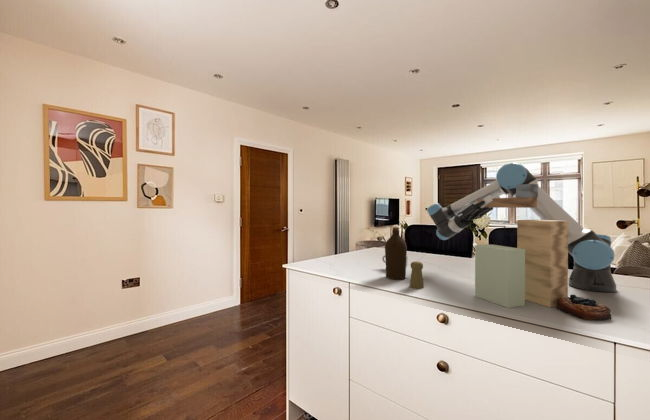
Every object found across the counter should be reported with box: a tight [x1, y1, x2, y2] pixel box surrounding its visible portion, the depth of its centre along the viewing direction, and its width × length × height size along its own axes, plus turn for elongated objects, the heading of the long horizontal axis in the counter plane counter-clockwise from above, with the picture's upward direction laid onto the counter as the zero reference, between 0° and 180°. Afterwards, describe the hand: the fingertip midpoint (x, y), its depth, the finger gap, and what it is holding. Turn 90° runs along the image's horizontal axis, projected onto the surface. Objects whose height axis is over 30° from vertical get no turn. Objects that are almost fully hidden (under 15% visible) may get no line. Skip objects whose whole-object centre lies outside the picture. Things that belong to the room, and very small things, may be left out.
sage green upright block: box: [474, 243, 526, 309], centre depth 105 cm, size 8×14×20 cm, turn 18°
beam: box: [477, 184, 539, 209], centre depth 119 cm, size 5×24×9 cm, turn 18°
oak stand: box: [516, 219, 569, 308], centre depth 105 cm, size 9×12×30 cm
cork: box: [409, 260, 425, 290], centre depth 124 cm, size 6×6×11 cm
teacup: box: [381, 254, 409, 268], centre depth 159 cm, size 14×11×8 cm
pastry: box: [555, 294, 612, 322], centre depth 92 cm, size 11×12×6 cm
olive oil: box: [384, 226, 408, 281], centre depth 140 cm, size 11×11×25 cm
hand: (495, 197), depth 124 cm, fingers closed on beam, 4 cm apart
